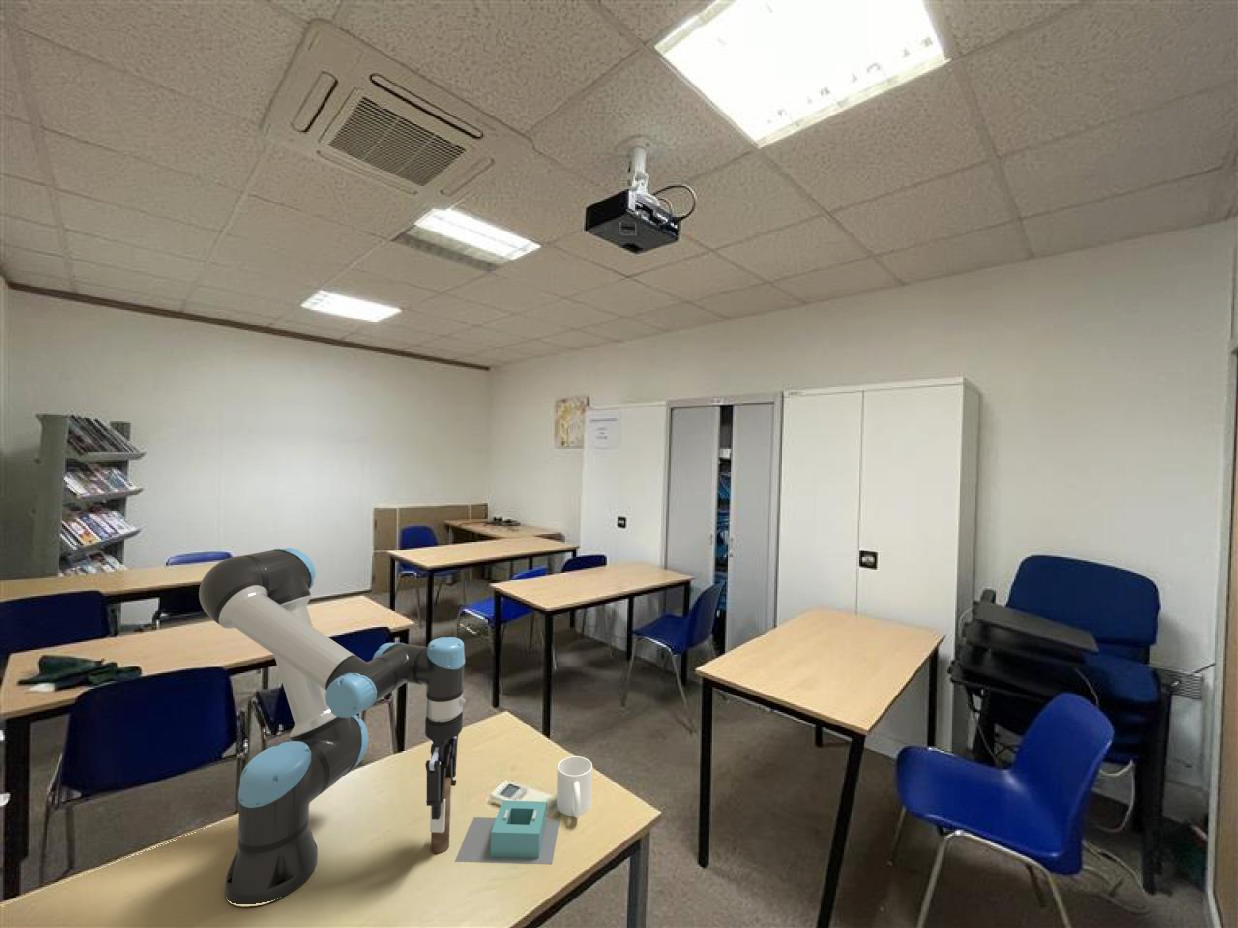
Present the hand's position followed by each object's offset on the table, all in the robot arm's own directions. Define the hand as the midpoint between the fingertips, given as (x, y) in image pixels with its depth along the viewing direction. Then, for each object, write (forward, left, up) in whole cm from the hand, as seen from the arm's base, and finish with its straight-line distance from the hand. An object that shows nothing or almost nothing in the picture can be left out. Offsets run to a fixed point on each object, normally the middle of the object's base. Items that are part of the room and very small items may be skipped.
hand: (440, 824), depth 106 cm
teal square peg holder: (+16, +3, -5) cm, 17 cm away
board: (+14, +3, -6) cm, 16 cm away
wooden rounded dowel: (0, 0, -5) cm, 5 cm away
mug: (+27, +13, -6) cm, 31 cm away
